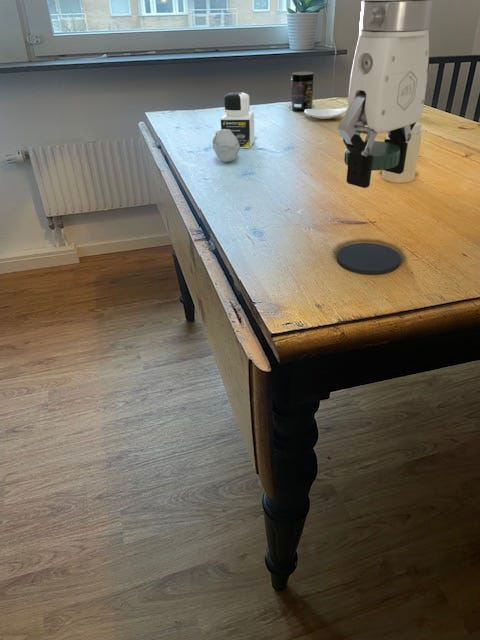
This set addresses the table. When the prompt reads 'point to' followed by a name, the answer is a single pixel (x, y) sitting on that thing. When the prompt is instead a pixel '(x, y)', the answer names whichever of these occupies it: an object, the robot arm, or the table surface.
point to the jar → (407, 159)
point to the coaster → (368, 258)
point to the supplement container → (302, 91)
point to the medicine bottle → (239, 118)
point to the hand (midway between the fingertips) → (375, 177)
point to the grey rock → (225, 145)
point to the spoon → (325, 113)
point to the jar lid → (382, 155)
